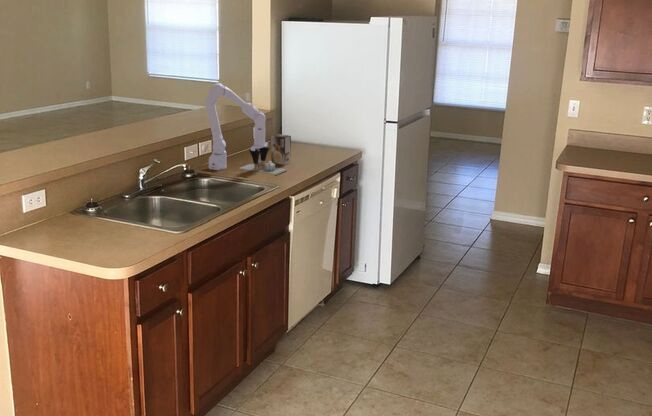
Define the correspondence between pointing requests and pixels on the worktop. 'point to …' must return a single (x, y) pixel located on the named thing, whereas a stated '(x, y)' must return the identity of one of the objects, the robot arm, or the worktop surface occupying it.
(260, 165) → the loose gear
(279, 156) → the coffee box
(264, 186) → the worktop surface
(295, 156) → the worktop surface
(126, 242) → the worktop surface
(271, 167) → the gear board
